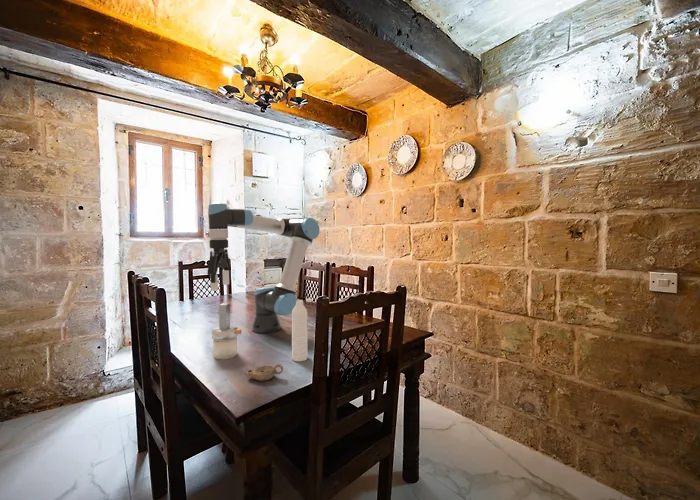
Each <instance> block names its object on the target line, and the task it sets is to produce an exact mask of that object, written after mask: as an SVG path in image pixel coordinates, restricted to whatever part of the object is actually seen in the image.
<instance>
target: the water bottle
mask: <svg viewBox="0 0 700 500" xmlns="http://www.w3.org/2000/svg"><path fill="white" fill-rule="evenodd" d="M312 301H313V298H306V299H305V302H306V303H311V302H312ZM308 343H309V342H308V310H307V308H306V307H305V305H304V304H303V300H302V299H297V302H296V305H295V307H294V308H293V310H292V313H291V353H292V354H291V360H292V361H294V362H298V363H299V362H305V361H306V360H307V359H308V355H309V354H308V349H309V348H308Z"/></svg>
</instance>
